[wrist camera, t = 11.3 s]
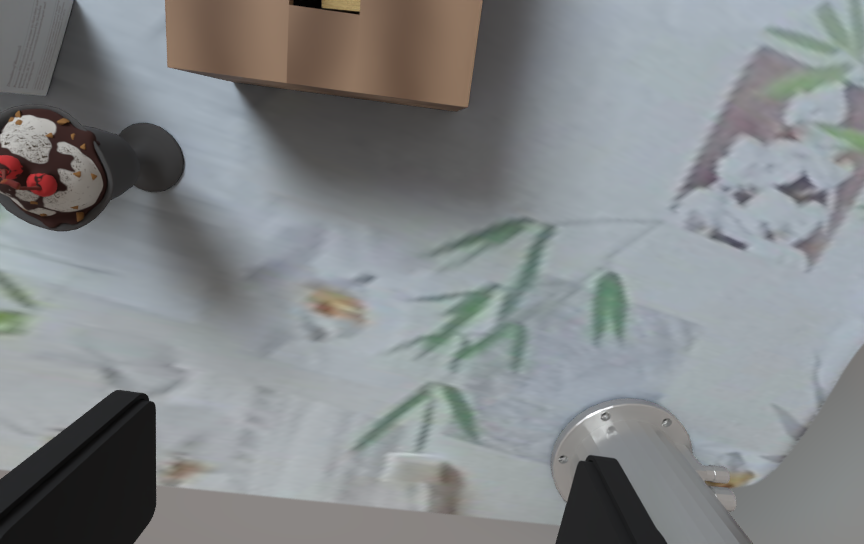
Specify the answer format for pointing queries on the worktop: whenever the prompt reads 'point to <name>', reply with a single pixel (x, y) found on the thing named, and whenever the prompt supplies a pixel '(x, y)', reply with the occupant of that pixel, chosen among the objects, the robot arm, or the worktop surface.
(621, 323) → the worktop surface
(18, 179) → the sundae
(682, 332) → the worktop surface
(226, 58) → the brown slotted wooden box
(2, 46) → the supplement box
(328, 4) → the tan rectangular block
